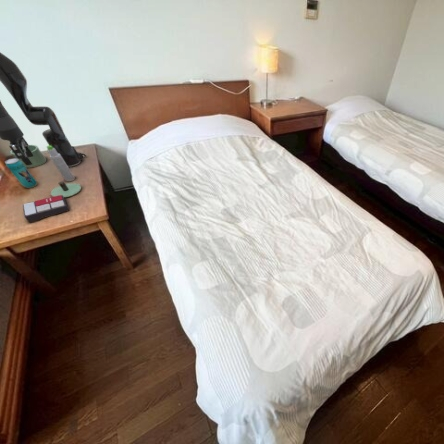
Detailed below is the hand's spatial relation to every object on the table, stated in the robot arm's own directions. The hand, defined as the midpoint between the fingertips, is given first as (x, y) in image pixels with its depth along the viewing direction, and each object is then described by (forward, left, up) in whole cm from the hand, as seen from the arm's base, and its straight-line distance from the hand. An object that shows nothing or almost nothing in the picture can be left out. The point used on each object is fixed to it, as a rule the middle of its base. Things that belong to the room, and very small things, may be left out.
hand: (30, 160), depth 116 cm
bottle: (-14, -4, -20) cm, 25 cm away
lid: (-4, +4, -19) cm, 20 cm away
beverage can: (-3, -17, -20) cm, 27 cm away
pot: (-22, -37, -20) cm, 47 cm away
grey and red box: (+11, +8, -20) cm, 24 cm away
